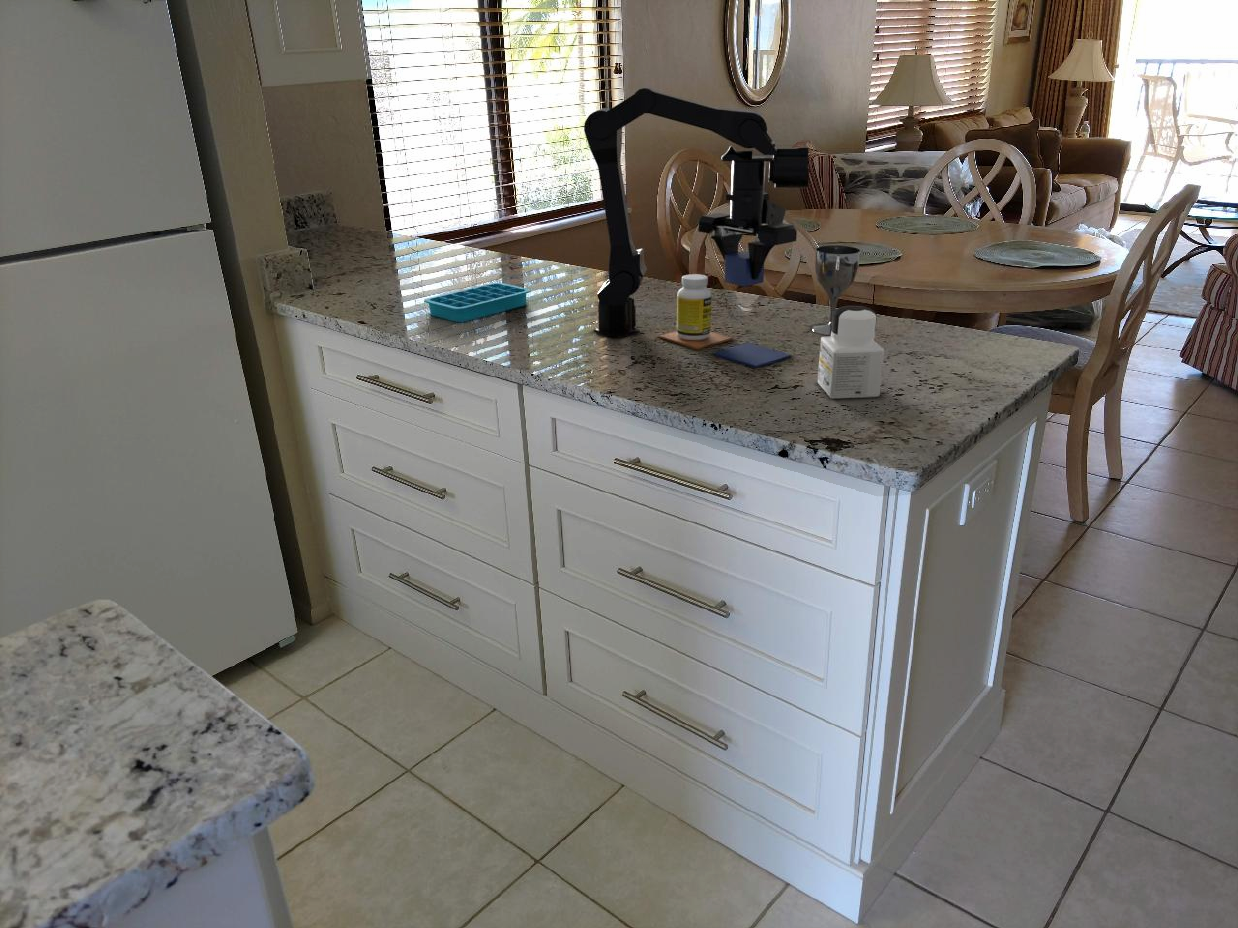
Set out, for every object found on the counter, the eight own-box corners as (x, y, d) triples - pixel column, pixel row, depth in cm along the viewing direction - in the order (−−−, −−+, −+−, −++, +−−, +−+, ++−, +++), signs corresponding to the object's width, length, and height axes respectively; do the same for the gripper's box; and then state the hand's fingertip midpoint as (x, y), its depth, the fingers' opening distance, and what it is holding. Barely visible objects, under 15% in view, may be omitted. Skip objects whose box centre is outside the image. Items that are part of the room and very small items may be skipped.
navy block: (744, 287, 170) (746, 259, 168) (724, 282, 174) (725, 254, 172) (763, 282, 173) (764, 254, 171) (742, 278, 177) (743, 250, 175)
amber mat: (697, 349, 170) (697, 347, 170) (658, 337, 177) (658, 335, 177) (732, 339, 175) (732, 337, 175) (693, 328, 182) (693, 326, 182)
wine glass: (857, 326, 182) (864, 247, 176) (847, 337, 176) (855, 255, 169) (815, 322, 185) (821, 244, 179) (805, 333, 179) (810, 252, 173)
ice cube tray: (422, 314, 194) (420, 300, 192) (497, 295, 207) (496, 281, 206) (459, 324, 187) (458, 309, 185) (534, 304, 200) (533, 290, 199)
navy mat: (755, 368, 160) (755, 365, 160) (713, 354, 167) (713, 352, 167) (791, 357, 165) (791, 355, 165) (748, 344, 172) (748, 342, 172)
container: (816, 383, 153) (823, 303, 148) (864, 381, 153) (871, 301, 148) (830, 399, 146) (837, 316, 140) (880, 397, 146) (889, 314, 141)
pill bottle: (708, 342, 173) (710, 281, 168) (674, 340, 174) (675, 280, 169) (712, 332, 178) (714, 273, 174) (679, 331, 179) (680, 272, 175)
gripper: (819, 188, 165) (813, 278, 171) (739, 178, 178) (736, 262, 184) (777, 195, 158) (772, 288, 165) (696, 184, 171) (695, 271, 178)
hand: (744, 276), depth 173 cm, fingers closed on navy block, 5 cm apart
